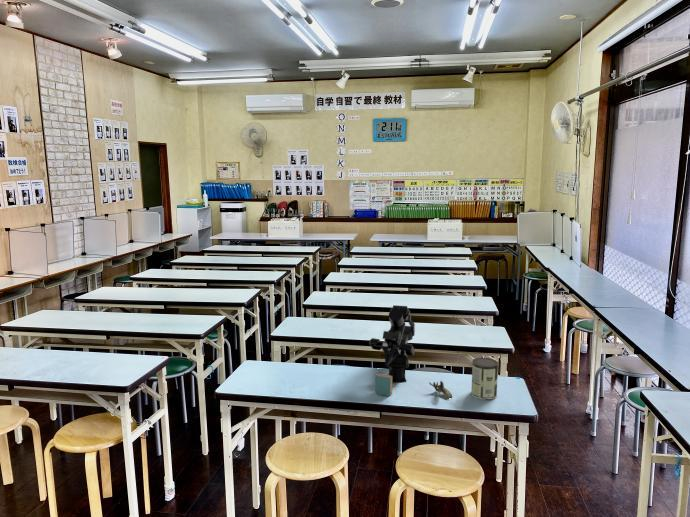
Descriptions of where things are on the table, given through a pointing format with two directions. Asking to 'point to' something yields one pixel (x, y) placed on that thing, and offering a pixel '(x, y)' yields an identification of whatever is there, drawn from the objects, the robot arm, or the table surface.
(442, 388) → the antlered deer figurine
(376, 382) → the glazed tile
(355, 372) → the table surface
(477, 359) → the coffee can
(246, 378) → the table surface
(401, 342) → the robot arm
